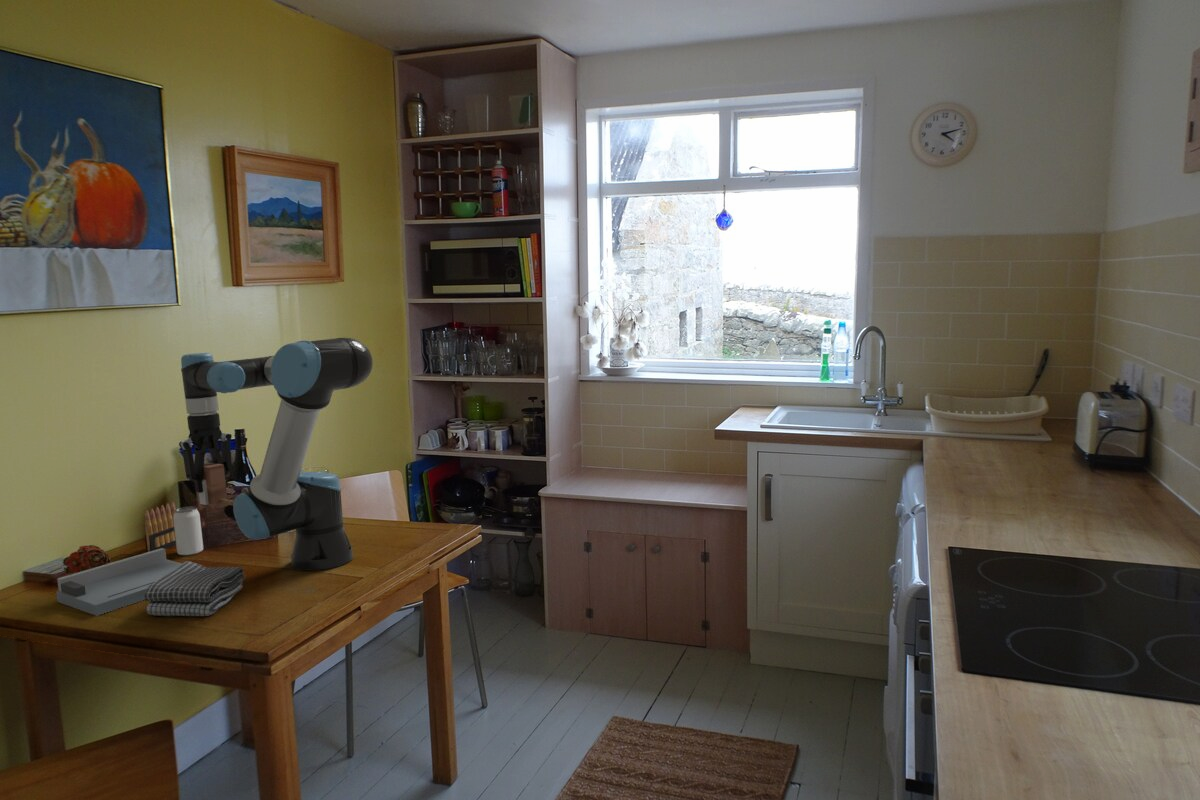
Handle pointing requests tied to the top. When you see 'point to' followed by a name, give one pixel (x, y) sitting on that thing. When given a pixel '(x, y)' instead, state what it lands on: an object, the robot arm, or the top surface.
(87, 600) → the board
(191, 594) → the towel
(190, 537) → the can
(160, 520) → the ammunition clip
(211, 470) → the brown blocky piece
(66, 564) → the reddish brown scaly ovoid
